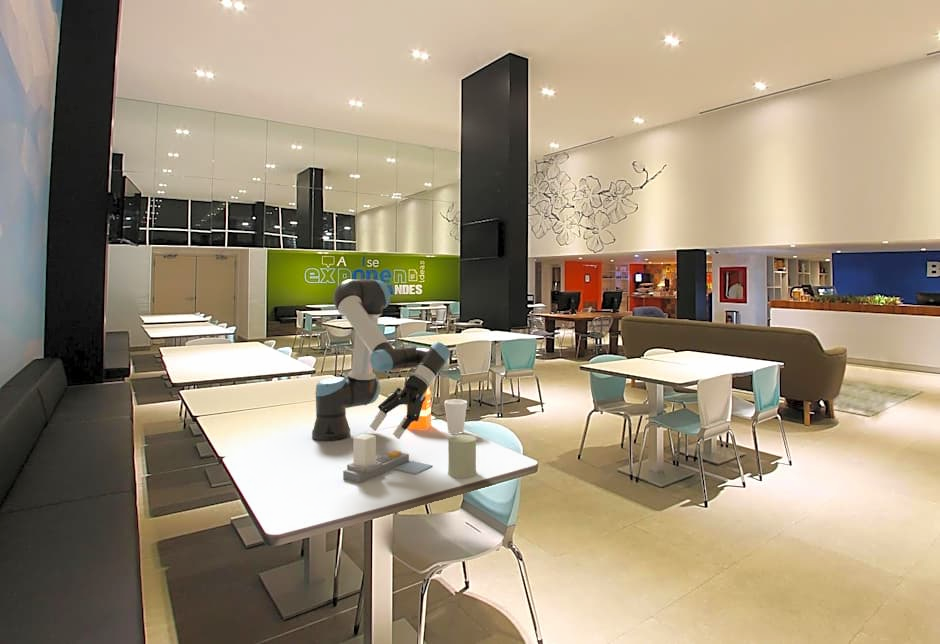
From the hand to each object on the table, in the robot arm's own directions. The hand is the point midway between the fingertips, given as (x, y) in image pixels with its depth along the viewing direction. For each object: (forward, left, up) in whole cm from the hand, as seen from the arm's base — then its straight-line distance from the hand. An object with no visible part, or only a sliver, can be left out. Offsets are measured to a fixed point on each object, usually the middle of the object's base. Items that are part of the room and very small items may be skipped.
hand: (383, 432), depth 165 cm
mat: (+6, +8, -13) cm, 16 cm away
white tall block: (-3, -6, -10) cm, 12 cm away
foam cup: (-6, +52, -13) cm, 54 cm away
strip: (-3, 0, -13) cm, 13 cm away
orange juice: (-24, +50, -13) cm, 57 cm away
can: (+23, +12, -13) cm, 29 cm away
